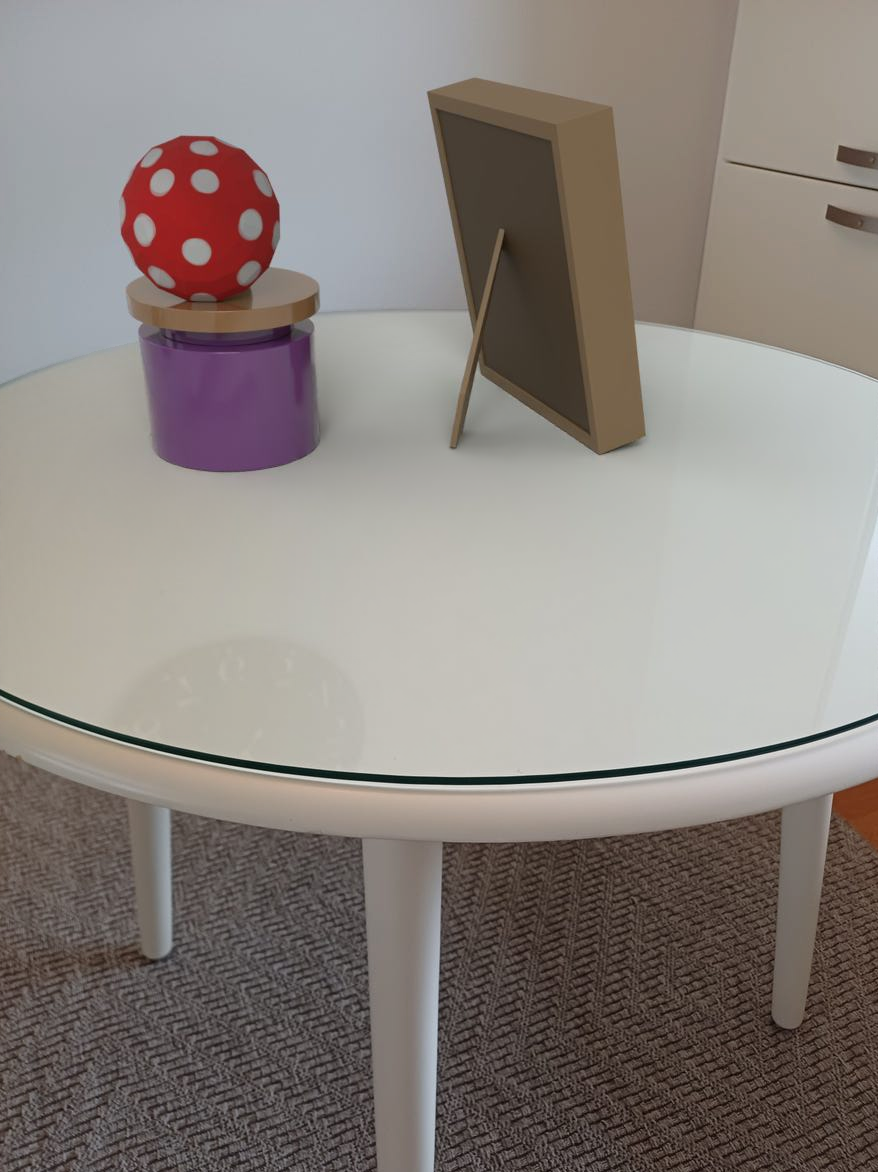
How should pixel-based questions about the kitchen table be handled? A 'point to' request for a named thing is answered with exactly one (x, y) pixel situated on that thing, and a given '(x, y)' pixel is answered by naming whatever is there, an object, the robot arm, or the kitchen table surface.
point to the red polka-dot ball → (199, 218)
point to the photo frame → (542, 255)
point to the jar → (231, 373)
